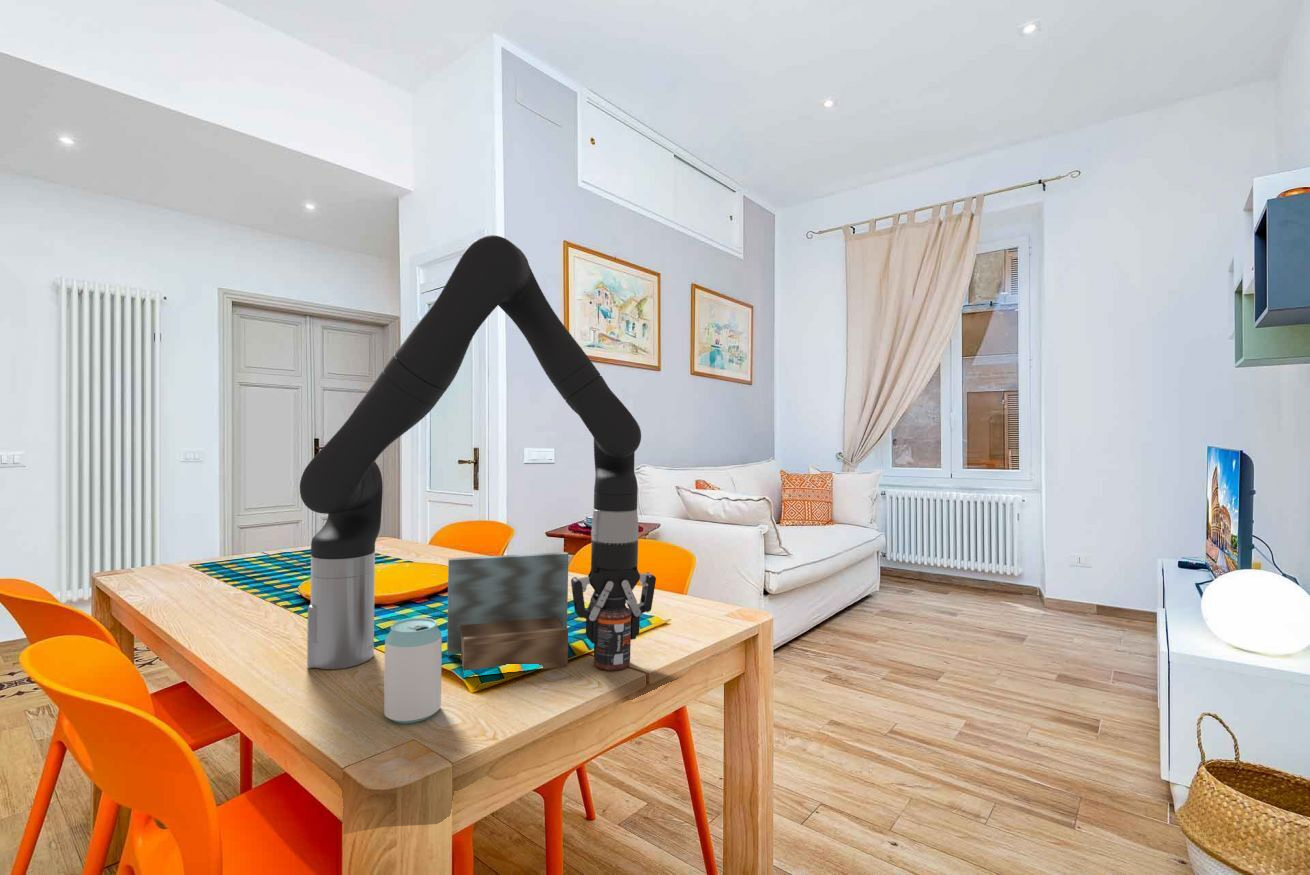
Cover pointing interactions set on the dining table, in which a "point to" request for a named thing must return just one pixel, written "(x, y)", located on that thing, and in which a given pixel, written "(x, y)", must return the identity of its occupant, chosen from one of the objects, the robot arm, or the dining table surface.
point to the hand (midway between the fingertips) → (612, 639)
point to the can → (412, 670)
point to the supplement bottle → (613, 635)
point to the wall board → (508, 610)
